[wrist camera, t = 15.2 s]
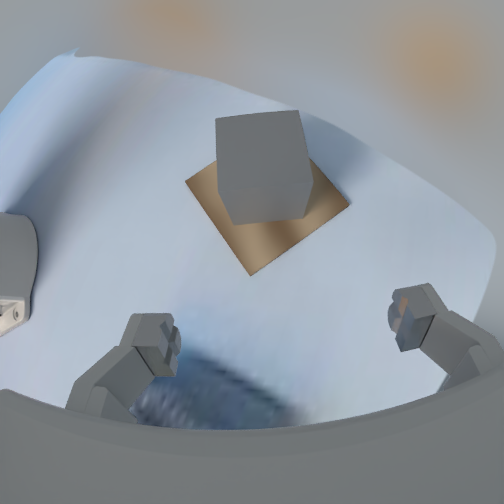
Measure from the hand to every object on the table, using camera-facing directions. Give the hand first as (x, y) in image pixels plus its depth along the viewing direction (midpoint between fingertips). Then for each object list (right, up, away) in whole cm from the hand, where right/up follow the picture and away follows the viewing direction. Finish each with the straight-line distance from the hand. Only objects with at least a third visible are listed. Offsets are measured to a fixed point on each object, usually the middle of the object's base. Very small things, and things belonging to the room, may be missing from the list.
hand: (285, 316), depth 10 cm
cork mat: (0, +8, +18) cm, 20 cm away
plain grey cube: (0, +8, +18) cm, 19 cm away
